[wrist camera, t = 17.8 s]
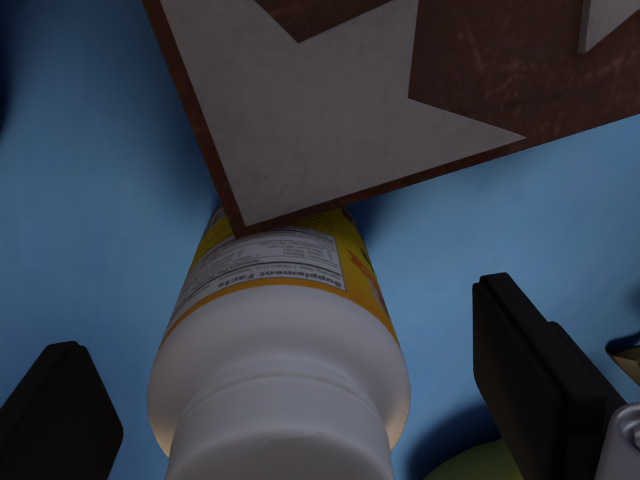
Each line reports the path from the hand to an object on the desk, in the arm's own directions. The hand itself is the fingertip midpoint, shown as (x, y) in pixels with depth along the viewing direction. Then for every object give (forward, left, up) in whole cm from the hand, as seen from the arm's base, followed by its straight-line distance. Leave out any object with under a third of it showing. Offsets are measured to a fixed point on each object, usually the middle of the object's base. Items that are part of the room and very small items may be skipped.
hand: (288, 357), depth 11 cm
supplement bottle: (0, 0, -6) cm, 6 cm away
